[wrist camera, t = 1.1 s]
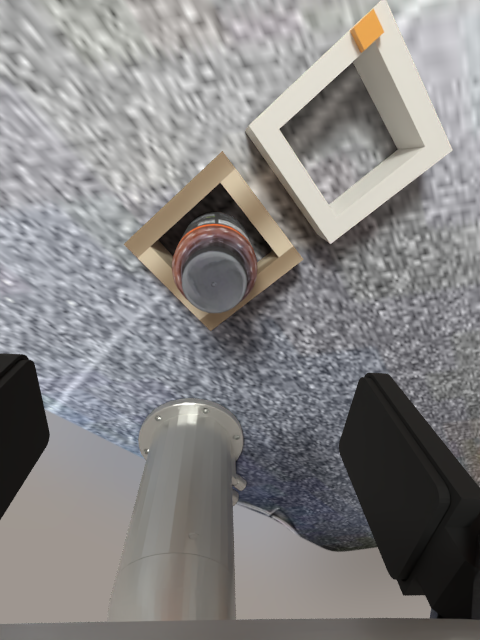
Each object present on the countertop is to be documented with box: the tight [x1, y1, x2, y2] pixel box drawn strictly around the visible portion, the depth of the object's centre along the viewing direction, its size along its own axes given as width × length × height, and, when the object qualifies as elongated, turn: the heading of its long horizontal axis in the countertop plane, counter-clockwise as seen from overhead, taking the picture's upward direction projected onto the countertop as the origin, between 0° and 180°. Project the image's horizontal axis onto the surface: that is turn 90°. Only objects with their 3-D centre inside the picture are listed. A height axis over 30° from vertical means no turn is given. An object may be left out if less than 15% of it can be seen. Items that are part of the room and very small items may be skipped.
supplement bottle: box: [172, 212, 257, 313], centre depth 24 cm, size 6×6×11 cm
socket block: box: [245, 0, 452, 244], centre depth 24 cm, size 11×11×5 cm
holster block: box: [124, 151, 303, 331], centre depth 28 cm, size 11×11×3 cm
